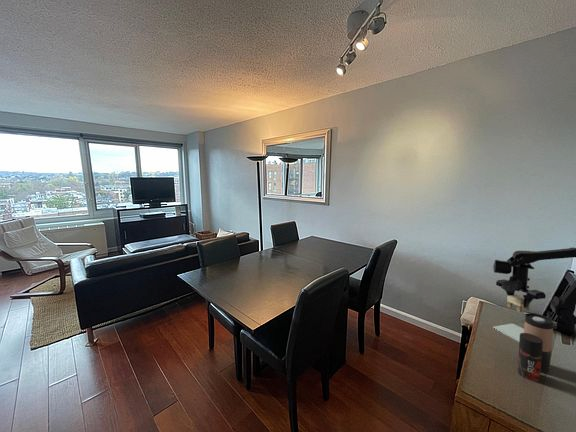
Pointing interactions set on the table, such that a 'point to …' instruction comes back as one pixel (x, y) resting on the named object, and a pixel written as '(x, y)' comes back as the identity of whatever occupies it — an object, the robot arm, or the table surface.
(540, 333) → the travel mug
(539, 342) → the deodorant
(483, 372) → the table surface
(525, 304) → the robot arm
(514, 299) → the tan box with tabs
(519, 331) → the board
